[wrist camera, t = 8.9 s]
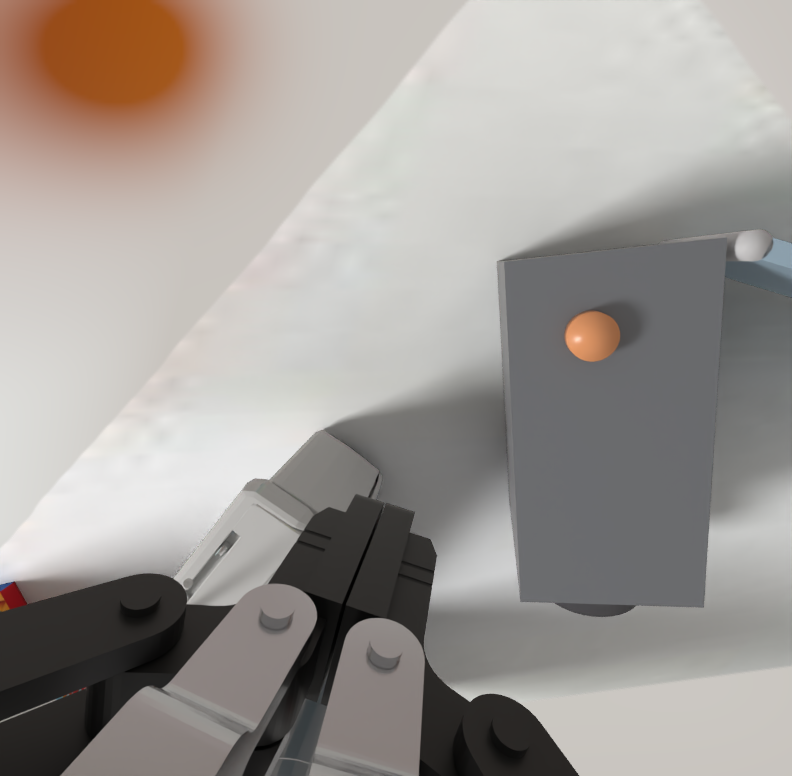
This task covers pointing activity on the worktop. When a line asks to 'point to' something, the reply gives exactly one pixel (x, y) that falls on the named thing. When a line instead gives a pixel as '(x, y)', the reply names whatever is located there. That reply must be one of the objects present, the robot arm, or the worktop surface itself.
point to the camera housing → (612, 422)
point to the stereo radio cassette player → (274, 520)
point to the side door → (755, 259)
